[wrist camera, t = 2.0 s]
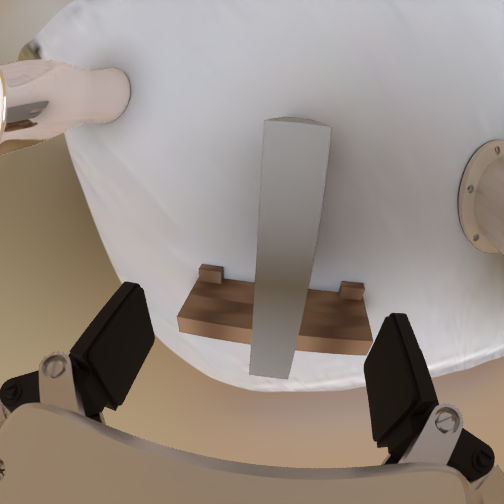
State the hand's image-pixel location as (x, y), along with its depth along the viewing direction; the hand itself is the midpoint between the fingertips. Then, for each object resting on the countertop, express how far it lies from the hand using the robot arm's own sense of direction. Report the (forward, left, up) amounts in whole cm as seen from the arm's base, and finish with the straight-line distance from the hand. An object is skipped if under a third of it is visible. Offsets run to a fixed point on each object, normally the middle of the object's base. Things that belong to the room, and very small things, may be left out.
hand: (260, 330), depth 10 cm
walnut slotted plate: (-1, +11, -17) cm, 20 cm away
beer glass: (+18, -10, -17) cm, 27 cm away
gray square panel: (-1, 0, -17) cm, 17 cm away
